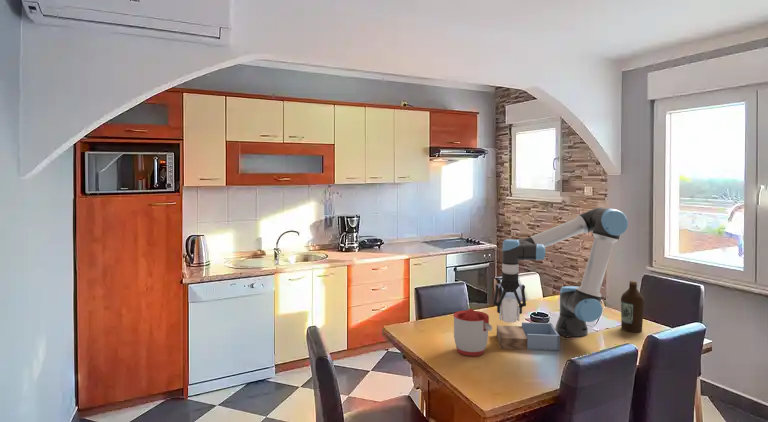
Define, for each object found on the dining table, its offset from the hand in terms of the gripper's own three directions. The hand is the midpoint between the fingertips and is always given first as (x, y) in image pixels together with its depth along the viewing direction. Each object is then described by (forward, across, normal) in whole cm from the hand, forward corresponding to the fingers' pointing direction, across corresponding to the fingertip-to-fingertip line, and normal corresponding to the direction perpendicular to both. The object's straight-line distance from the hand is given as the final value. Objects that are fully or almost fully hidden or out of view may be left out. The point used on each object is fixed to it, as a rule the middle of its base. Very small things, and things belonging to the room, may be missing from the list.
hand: (509, 319), depth 224 cm
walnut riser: (+11, -1, 0) cm, 11 cm away
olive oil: (+11, -64, -26) cm, 70 cm away
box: (+11, -14, 0) cm, 18 cm away
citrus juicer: (+11, +18, +15) cm, 26 cm away
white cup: (0, 0, 0) cm, 0 cm away
